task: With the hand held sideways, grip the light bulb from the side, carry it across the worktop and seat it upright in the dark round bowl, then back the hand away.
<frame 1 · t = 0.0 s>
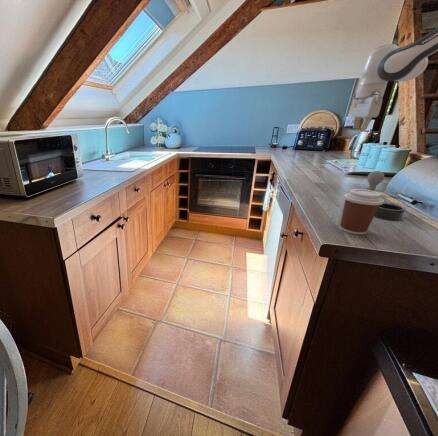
hand: (359, 128, 105), 27 cm above the countertop, tool pointing down, fingers open, 8 cm apart
coffee cup: (352, 230, 75), on the countertop
light bulb: (370, 193, 108), on the countertop
dark round bowl: (385, 216, 84), on the countertop
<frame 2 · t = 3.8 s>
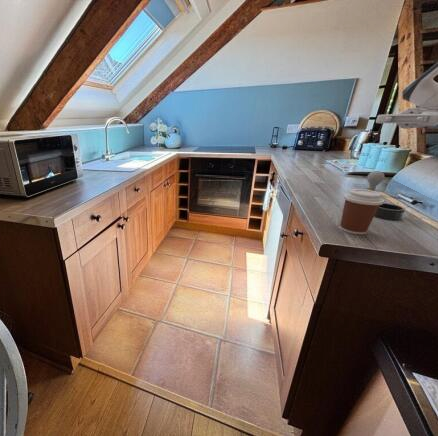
hand: (403, 119, 103), 30 cm above the countertop, tool horizontal, fingers open, 8 cm apart
nothing on the countertop moved.
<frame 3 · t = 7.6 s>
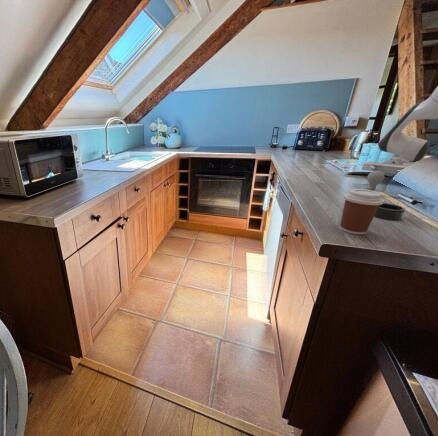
hand: (385, 170, 111), 9 cm above the countertop, tool horizontal, fingers open, 8 cm apart
nothing on the countertop moved.
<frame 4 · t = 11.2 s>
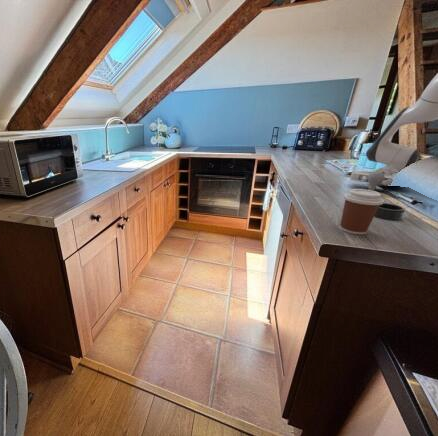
hand: (373, 181, 106), 6 cm above the countertop, tool horizontal, fingers closed on light bulb, 5 cm apart
light bulb: (370, 193, 108), on the countertop, touching gripper
everything else where it was.
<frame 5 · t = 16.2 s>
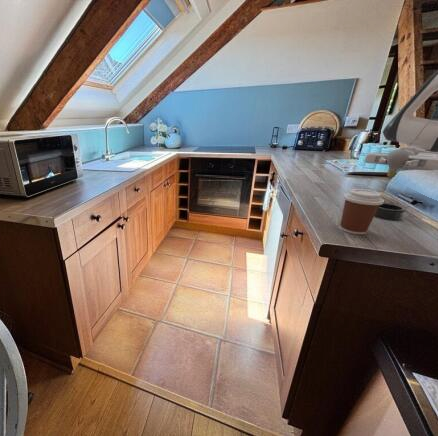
hand: (395, 162, 86), 17 cm above the countertop, tool horizontal, fingers closed on light bulb, 5 cm apart
light bulb: (389, 178, 88), point 11 cm above the countertop, touching gripper
everything else where it was.
when the fingers open (6 cm above the countertop, at t = 21.1 s): light bulb stays where it is, resting on dark round bowl.
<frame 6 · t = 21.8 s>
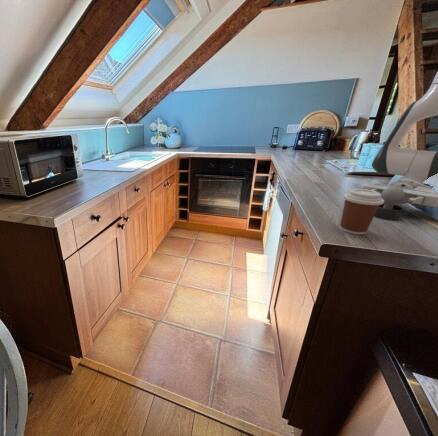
hand: (391, 198, 81), 7 cm above the countertop, tool horizontal, fingers open, 8 cm apart
light bulb: (384, 215, 84), resting on dark round bowl
everything else where it was.
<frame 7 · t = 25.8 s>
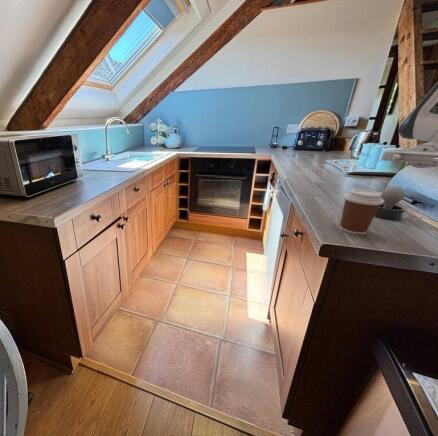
hand: (415, 159, 83), 18 cm above the countertop, tool horizontal, fingers open, 8 cm apart
nothing on the countertop moved.
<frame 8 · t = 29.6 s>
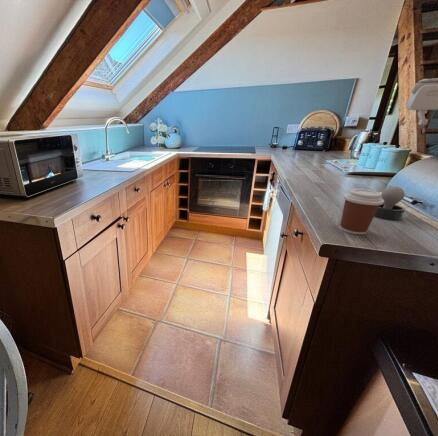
nothing on the countertop moved.
at the end: light bulb 0.1 cm off-centre in the dark round bowl, point 0.2 cm above the dark round bowl's base; light bulb tilted 0°; the gripper is holding nothing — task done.
